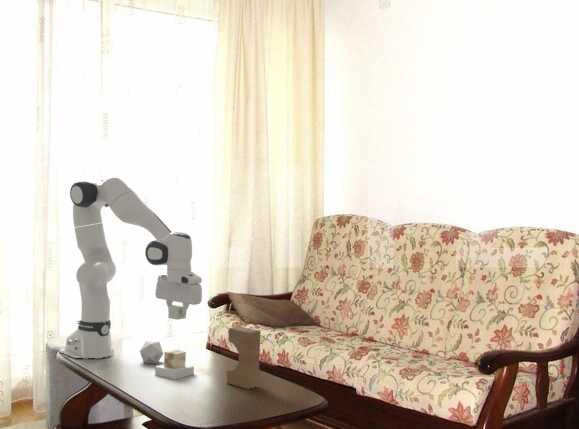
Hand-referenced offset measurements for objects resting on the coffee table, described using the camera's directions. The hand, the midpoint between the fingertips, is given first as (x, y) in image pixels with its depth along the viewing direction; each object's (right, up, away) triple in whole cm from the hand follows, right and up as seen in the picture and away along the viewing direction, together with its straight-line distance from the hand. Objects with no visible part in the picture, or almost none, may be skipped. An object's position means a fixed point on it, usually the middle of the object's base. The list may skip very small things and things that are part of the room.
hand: (177, 313), depth 269 cm
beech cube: (-1, -20, 0) cm, 20 cm away
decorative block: (+25, -24, -10) cm, 36 cm away
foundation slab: (-1, -23, +1) cm, 23 cm away
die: (-13, -22, +17) cm, 30 cm away
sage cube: (0, -2, 0) cm, 2 cm away
